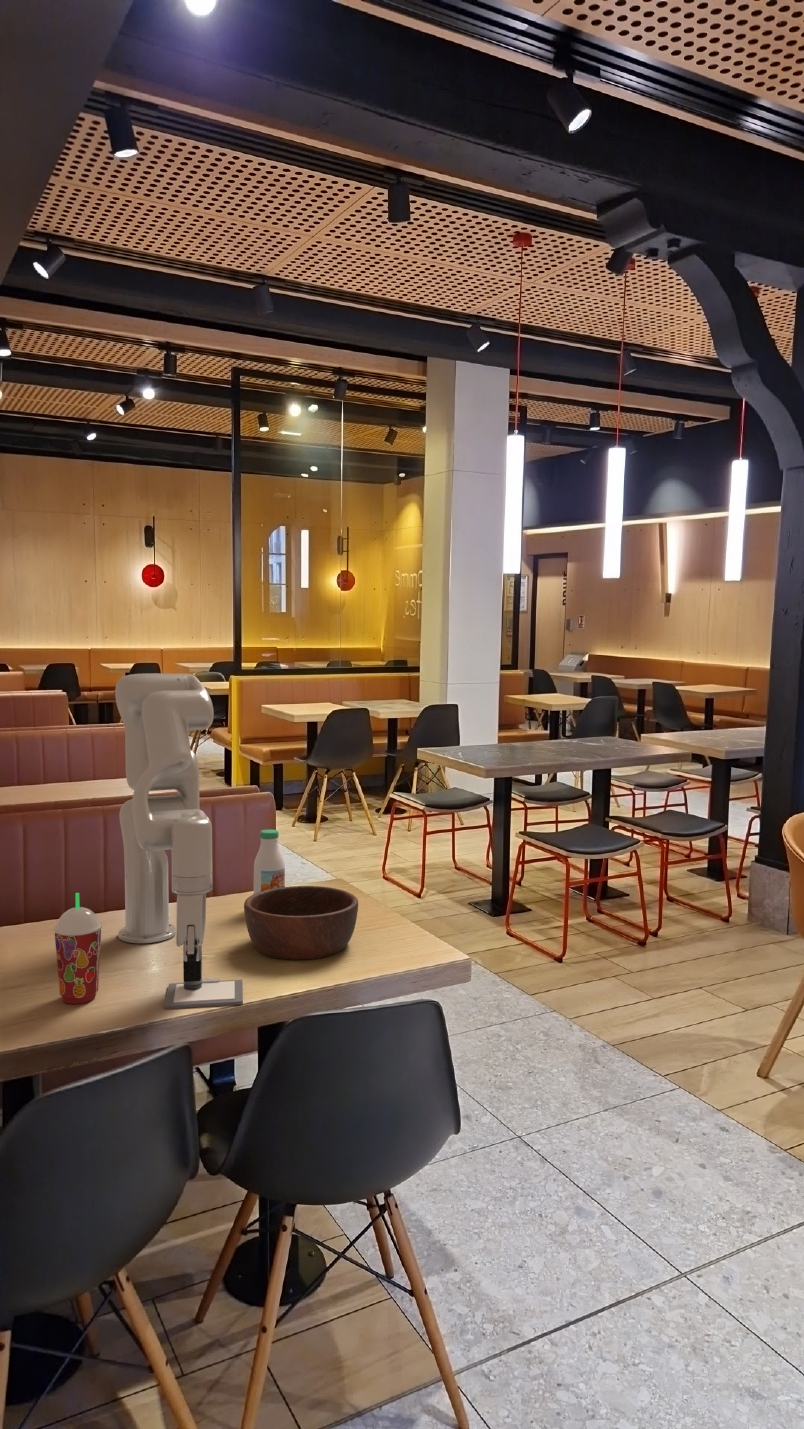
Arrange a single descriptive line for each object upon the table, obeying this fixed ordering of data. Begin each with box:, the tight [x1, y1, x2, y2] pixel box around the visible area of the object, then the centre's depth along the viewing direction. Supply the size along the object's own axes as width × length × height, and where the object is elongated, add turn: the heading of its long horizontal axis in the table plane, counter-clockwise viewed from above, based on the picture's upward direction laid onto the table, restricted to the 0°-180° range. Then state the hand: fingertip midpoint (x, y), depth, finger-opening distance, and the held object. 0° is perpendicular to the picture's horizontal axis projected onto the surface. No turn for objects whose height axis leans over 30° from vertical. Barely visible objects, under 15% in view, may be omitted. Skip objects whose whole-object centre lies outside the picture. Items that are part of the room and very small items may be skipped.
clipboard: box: [164, 977, 244, 1010], centre depth 172 cm, size 11×14×1 cm
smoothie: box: [53, 892, 103, 1005], centre depth 170 cm, size 8×8×20 cm
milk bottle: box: [253, 829, 286, 894], centre depth 227 cm, size 8×8×20 cm
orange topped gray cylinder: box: [182, 941, 203, 990], centre depth 174 cm, size 4×4×11 cm
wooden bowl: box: [243, 885, 359, 961], centre depth 201 cm, size 25×25×10 cm
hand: (192, 976), depth 174 cm, fingers closed on orange topped gray cylinder, 3 cm apart
